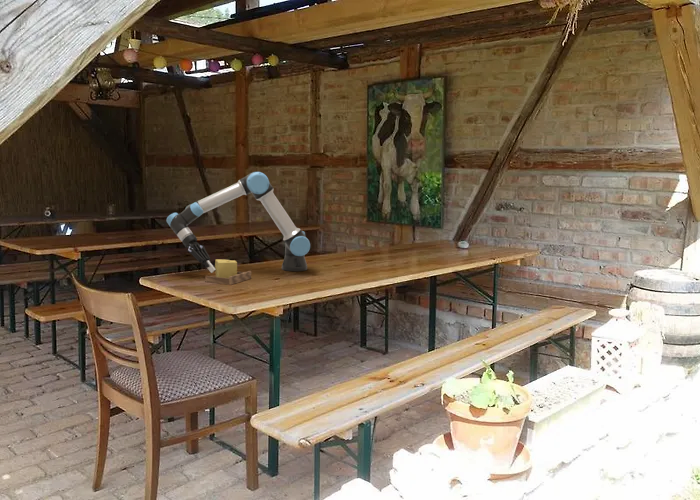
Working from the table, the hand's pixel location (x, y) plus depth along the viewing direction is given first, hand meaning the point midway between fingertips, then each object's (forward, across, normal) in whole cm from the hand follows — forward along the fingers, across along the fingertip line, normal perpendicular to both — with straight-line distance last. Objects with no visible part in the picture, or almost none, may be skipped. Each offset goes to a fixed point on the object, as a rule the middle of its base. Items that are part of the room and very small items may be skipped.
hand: (213, 271), depth 326 cm
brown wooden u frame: (+9, -1, +3) cm, 9 cm away
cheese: (+7, -2, +2) cm, 8 cm away
